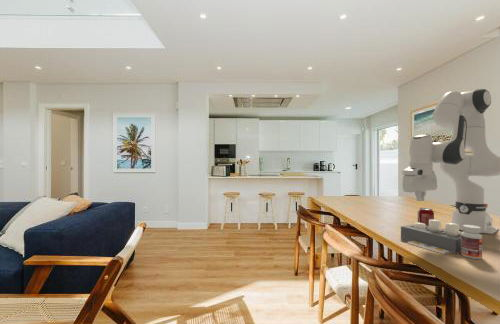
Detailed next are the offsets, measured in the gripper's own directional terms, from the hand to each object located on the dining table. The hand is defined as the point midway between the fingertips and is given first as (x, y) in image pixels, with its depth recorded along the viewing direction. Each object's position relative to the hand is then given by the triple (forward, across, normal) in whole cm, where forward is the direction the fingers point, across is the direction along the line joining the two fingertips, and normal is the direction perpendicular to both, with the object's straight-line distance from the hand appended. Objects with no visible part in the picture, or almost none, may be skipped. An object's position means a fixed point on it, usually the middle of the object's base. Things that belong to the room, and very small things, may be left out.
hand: (420, 200), depth 120 cm
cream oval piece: (+16, +1, 0) cm, 16 cm away
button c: (+13, +1, +13) cm, 19 cm away
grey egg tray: (+17, +1, +7) cm, 19 cm away
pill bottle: (+17, +5, +22) cm, 28 cm away
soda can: (+18, -13, -5) cm, 23 cm away
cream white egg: (+13, +1, +7) cm, 15 cm away
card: (+17, +10, +9) cm, 22 cm away
